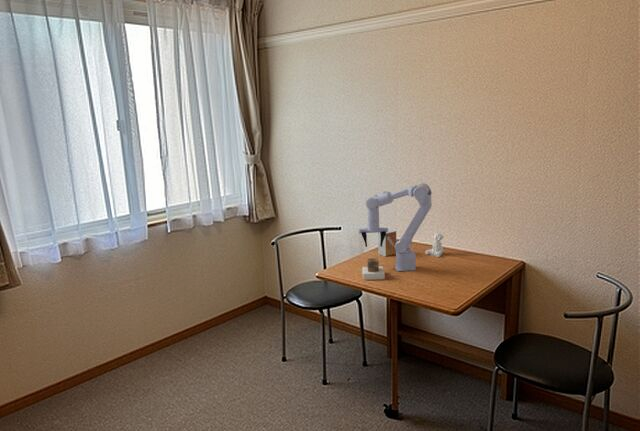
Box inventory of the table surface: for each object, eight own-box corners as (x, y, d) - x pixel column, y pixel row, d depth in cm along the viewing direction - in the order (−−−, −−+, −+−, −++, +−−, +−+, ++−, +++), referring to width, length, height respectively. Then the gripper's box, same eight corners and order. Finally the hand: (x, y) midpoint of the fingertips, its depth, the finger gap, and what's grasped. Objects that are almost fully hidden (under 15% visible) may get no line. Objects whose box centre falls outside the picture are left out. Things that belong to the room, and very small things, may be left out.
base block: (382, 271, 231) (382, 266, 230) (384, 279, 221) (384, 273, 220) (362, 272, 231) (362, 266, 230) (363, 279, 221) (363, 273, 221)
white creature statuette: (424, 254, 255) (424, 232, 253) (434, 250, 260) (434, 229, 258) (438, 257, 248) (438, 236, 245) (448, 254, 253) (448, 233, 250)
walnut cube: (377, 267, 228) (377, 258, 227) (378, 271, 223) (378, 261, 222) (367, 268, 228) (367, 258, 227) (368, 271, 223) (367, 261, 222)
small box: (385, 256, 254) (385, 233, 251) (378, 254, 259) (377, 231, 256) (396, 253, 258) (396, 230, 256) (389, 251, 264) (388, 228, 261)
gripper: (386, 218, 239) (387, 243, 242) (358, 219, 239) (359, 244, 243) (388, 221, 232) (388, 247, 235) (359, 222, 233) (359, 248, 236)
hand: (373, 246), depth 238 cm, fingers open, 7 cm apart
